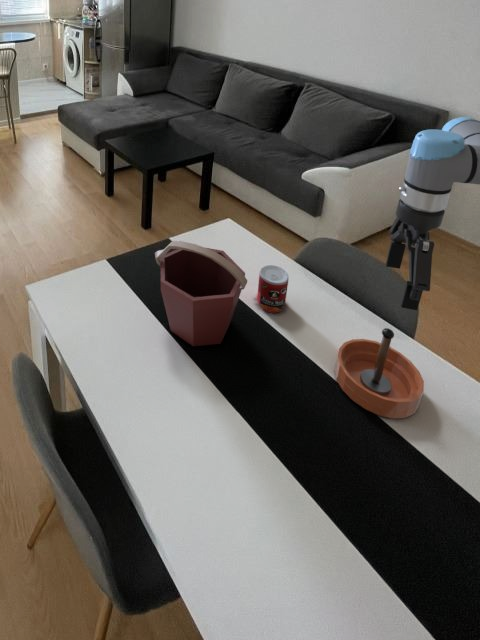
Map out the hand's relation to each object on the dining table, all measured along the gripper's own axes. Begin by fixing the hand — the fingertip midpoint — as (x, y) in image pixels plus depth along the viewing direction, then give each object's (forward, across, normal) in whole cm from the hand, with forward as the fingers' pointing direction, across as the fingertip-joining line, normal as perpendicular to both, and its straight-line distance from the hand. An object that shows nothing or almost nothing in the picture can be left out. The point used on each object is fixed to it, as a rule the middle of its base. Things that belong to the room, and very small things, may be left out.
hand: (400, 286), depth 95 cm
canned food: (+26, -15, -24) cm, 39 cm away
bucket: (+26, -2, -43) cm, 51 cm away
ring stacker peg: (+25, +5, -2) cm, 26 cm away
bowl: (+26, +5, -2) cm, 27 cm away
